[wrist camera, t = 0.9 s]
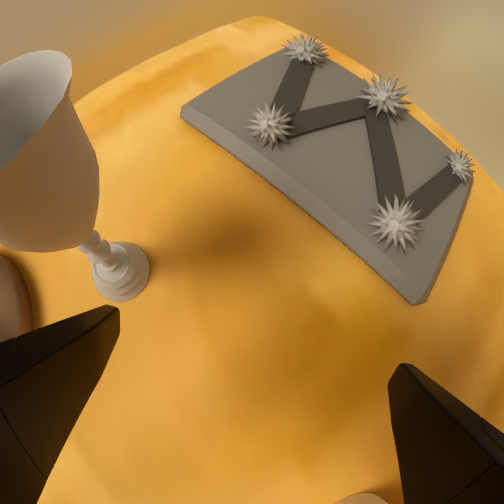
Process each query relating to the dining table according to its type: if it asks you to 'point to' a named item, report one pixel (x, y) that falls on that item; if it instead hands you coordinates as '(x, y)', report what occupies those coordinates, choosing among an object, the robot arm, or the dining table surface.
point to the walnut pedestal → (13, 302)
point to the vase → (362, 499)
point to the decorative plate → (344, 158)
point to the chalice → (55, 175)
